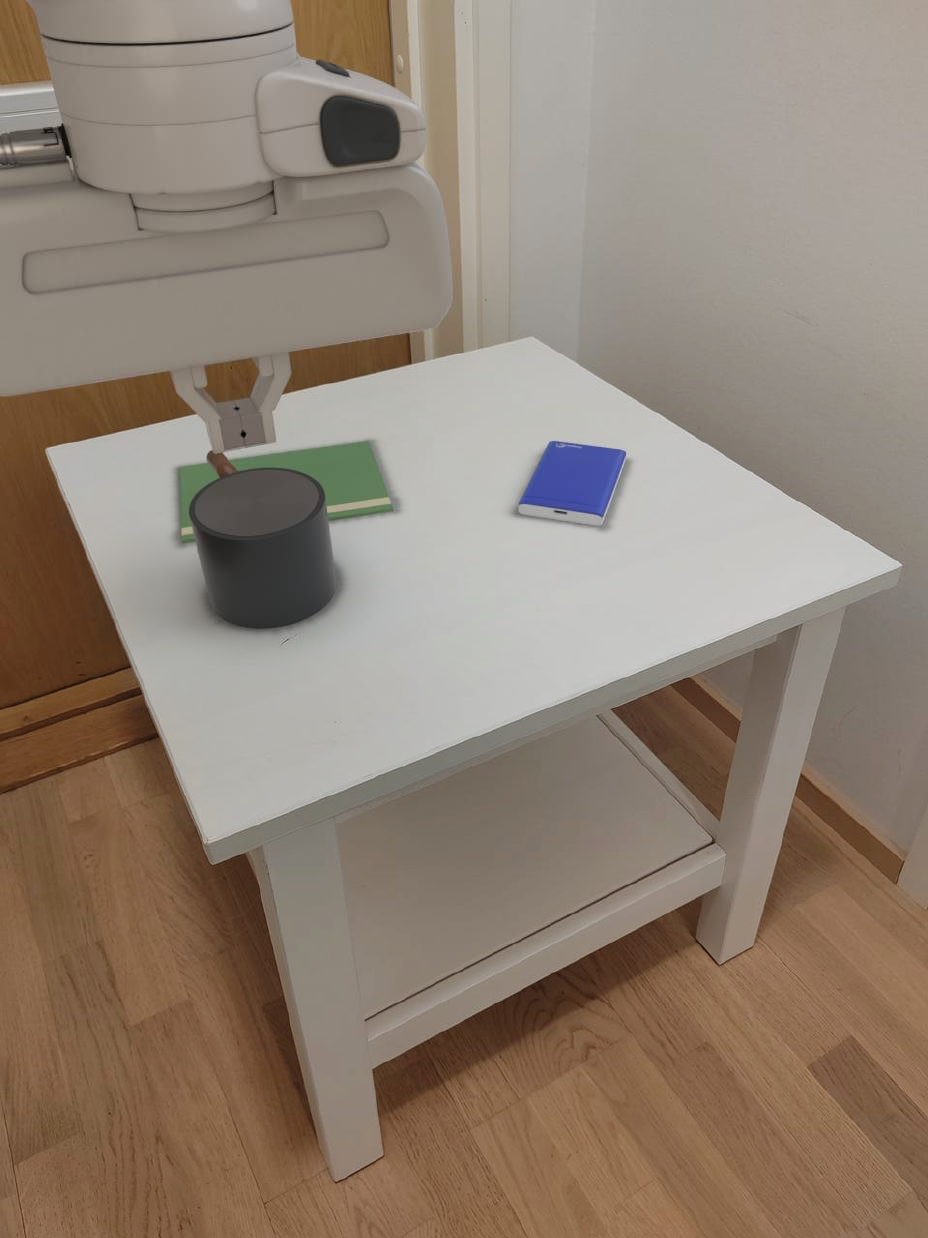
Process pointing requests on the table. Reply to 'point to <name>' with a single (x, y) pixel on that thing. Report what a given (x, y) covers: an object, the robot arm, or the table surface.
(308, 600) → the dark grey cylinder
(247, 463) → the green book
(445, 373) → the table surface
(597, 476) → the hard drive
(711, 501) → the table surface
